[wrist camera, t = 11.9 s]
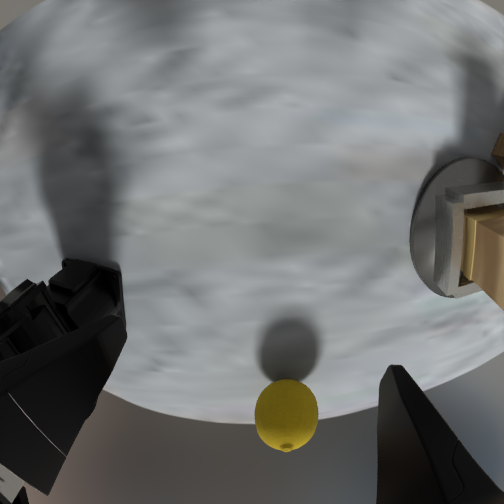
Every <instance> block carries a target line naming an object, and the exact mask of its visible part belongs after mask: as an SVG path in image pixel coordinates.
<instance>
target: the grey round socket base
mask: <svg viewBox="0 0 504 504" xmlns="http://www.w3.org/2000/svg"><path fill="white" fill-rule="evenodd" d="M488 205H495V206H497V207H499V208H502V209H504V176H503V175H502V173H501V172H500V171H499V170H498V169H497V168H496V167H495V166H493V165H492V164H491V163H489V162H487V161H484V160H480V159H476V158H460V159H457V160H454V161H451V162H450V163H448V164H446V165H445V166H443V167H442V168H441V169H439V170H438V171H437V172H436V173H435V174H434V175H433V176H432V178H431V179H430V180H429V182H428V183H427V184H426V186H425V188H424V189H423V191H422V193H421V195H420V197H419V199H418V201H417V204H416V207H415V210H414V214H413V218H412V222H411V229H410V252H411V258H412V261H413V265H414V268H415V270H416V272H417V274H418V275H419V277H420V278H421V280H422V281H423V282H424V283H425V284H426V285H427V287H428V288H429V289H430V290H432V291H433V292H434V293H436V294H438V295H440V296H444V297H450V298H456V299H457V298H460V297H463V296H466V295H470V294H473V293H476V292H479V291H482V289H481V288H480V287H479V286H478V285H477V284H476V283H475V282H474V281H473V280H469V279H468V278H467V277H465V276H464V275H463V271H461V270H460V267H461V257H462V245H463V226H464V209H470V208H476V207H482V206H488Z"/></svg>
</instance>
